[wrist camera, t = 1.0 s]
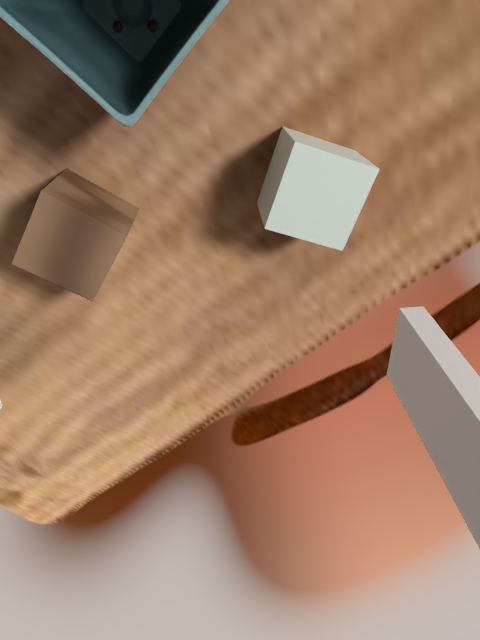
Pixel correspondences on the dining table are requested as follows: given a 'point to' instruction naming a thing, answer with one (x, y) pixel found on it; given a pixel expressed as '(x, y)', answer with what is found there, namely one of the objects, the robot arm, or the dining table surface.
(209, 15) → the flower pot
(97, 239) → the walnut block
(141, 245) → the dining table surface
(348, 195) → the grey-green block
